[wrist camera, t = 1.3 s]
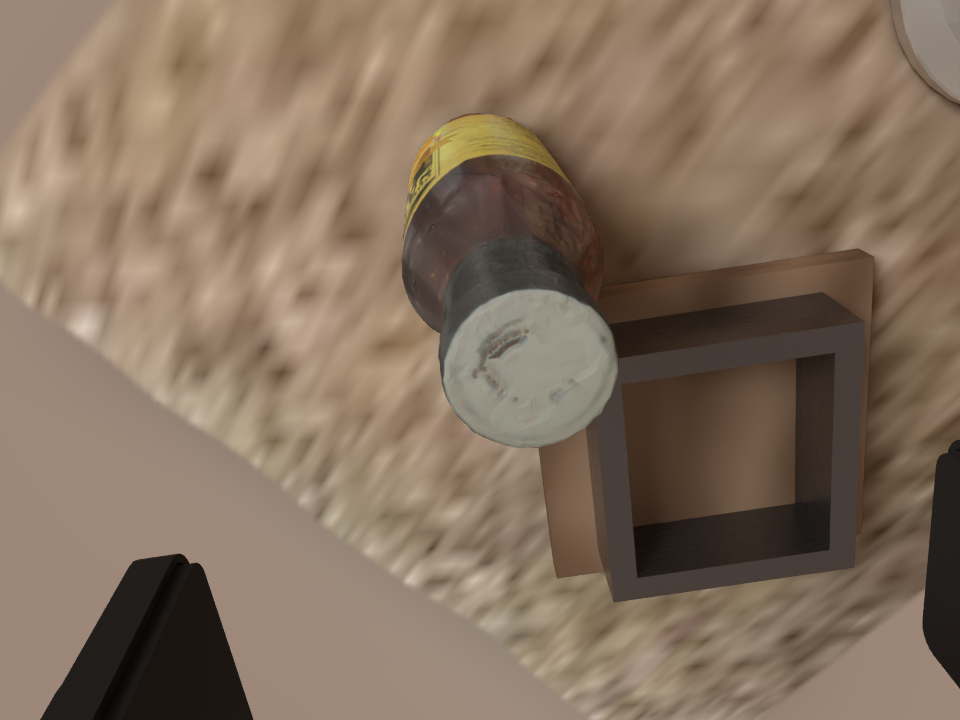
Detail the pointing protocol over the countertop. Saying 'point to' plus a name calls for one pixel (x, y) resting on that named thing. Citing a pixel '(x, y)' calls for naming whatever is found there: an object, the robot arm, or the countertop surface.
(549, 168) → the sauce bottle
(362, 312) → the countertop surface
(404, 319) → the countertop surface
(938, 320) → the countertop surface
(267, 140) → the countertop surface
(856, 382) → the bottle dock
